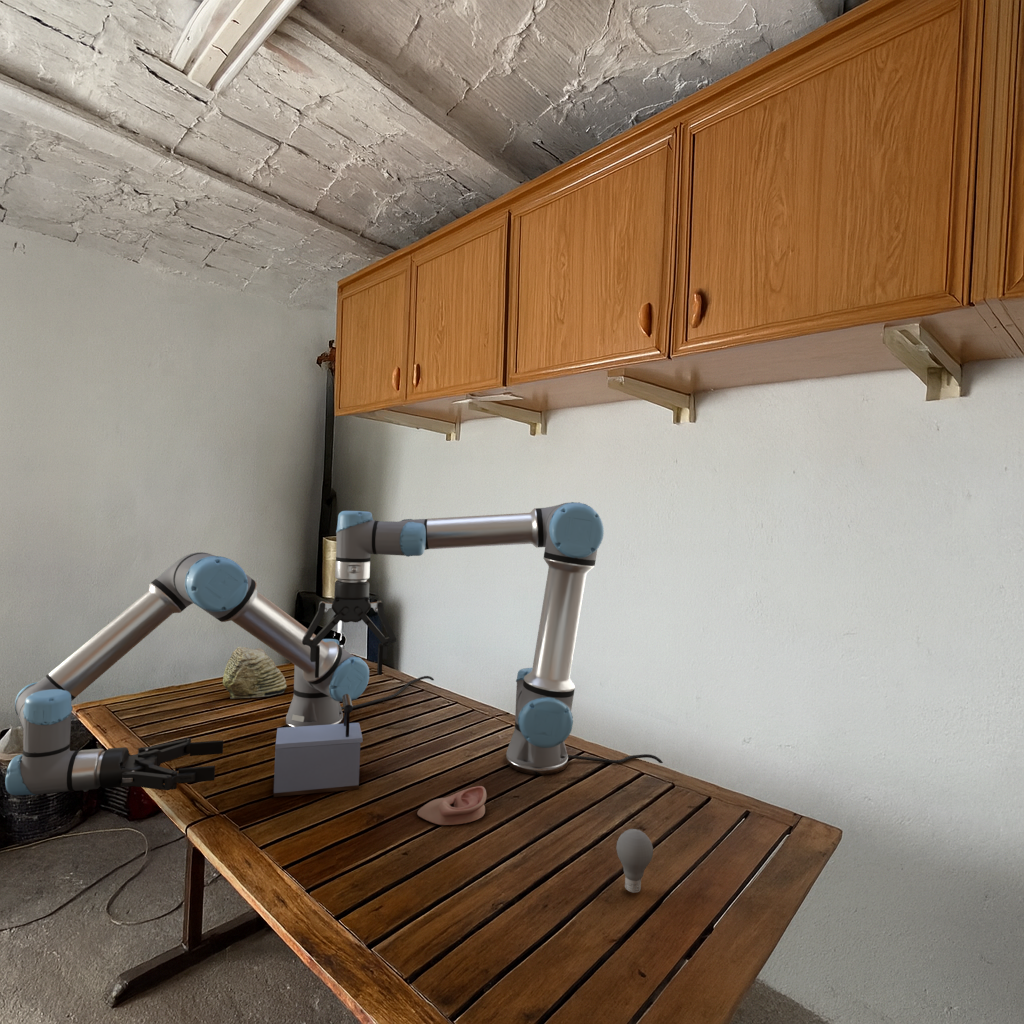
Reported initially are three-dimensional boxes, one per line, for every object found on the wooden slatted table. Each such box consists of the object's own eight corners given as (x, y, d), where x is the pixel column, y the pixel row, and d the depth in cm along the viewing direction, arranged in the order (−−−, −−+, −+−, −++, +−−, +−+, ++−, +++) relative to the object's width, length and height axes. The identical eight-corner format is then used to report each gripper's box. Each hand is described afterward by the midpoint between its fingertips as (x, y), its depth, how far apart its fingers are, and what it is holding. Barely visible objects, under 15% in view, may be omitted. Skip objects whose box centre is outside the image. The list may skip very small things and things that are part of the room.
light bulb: (610, 879, 108) (613, 822, 108) (644, 879, 109) (647, 822, 109) (619, 902, 102) (622, 840, 102) (655, 901, 103) (658, 840, 103)
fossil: (218, 695, 195) (220, 647, 195) (278, 685, 208) (279, 640, 207) (228, 703, 189) (230, 653, 188) (289, 692, 201) (290, 645, 201)
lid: (358, 726, 147) (360, 691, 147) (362, 742, 138) (364, 705, 138) (277, 732, 142) (278, 696, 142) (275, 748, 133) (276, 710, 132)
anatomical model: (412, 801, 125) (431, 776, 136) (411, 820, 125) (430, 795, 136) (477, 810, 122) (491, 784, 134) (476, 830, 122) (490, 803, 134)
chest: (355, 770, 147) (357, 727, 147) (358, 788, 138) (360, 742, 138) (275, 777, 142) (277, 732, 142) (273, 797, 133) (275, 749, 132)
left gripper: (119, 761, 139) (225, 753, 146) (81, 817, 115) (209, 804, 122) (121, 727, 139) (226, 721, 145) (83, 776, 115) (211, 766, 122)
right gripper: (292, 582, 134) (289, 682, 134) (410, 582, 141) (407, 676, 142) (293, 577, 141) (289, 672, 141) (405, 578, 148) (402, 668, 149)
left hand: (219, 759), depth 134 cm, fingers open, 13 cm apart
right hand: (348, 675), depth 141 cm, fingers open, 13 cm apart
